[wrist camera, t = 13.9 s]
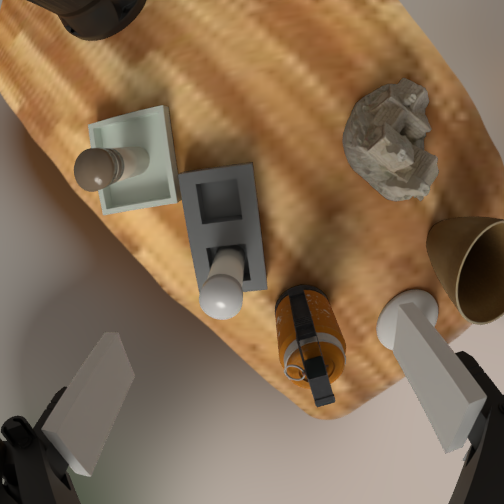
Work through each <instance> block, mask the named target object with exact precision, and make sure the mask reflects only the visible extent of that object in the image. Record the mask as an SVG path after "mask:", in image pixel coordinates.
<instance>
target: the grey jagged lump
mask: <svg viewBox="0 0 504 504" xmlns="http://www.w3.org/2000/svg"><path fill="white" fill-rule="evenodd" d="M427 93H428V92H427V90H426V89H425V88H423V87H422V86H421V85H417V84H416V83H414V82H413V81H410V80H408V79H406V78H402V79H401V81H400V82H399V83H398V84H397V85H396V84H386V85H384V86H381V87H380V88H378V89H377V90H375V91H373V92H372V93H370V94H368V95H366V96H364V97H363V98H362V99H361V100H359V101H358V102H357V103H356V104H355V106H354V108H353V110H352V113H351V115H350V117H349V119H348V121H347V123H346V127H345V130H344V133H343V147H344V151H345V155H346V157H347V160H348V162H349V164H350V166H351V167H352V169H353V170H354V171H355V172H357V173H358V174H359V175H360V176H361V177H362V178H364V179H365V180H366V181H367V182H368V183H369V184H370V185H371V186H372V187H373V188H374V189H376V190H377V191H378V192H379V193H380V194H381V195H382V196H384V197H385V198H386V199H388V200H392V201H402V200H407V199H410V198H411V197H412V196H414V198H416V197H417V198H418V199H419V200H420V201H422V200H423V197H424V196H427V195H428V193H429V191H430V186H431V184H432V183H433V182H434V180H435V178H436V177H437V176H438V173H439V170H438V167H437V163H438V162H437V161H438V158H437V157H436V156H435V155H432V154H430V153H428V152H427V151H424V138H425V137H426V132H430V131H431V126H430V124H429V123H428V119H427V117H426V115H425V108H426V107H427V105H428V103H429V98H428V94H427Z"/></svg>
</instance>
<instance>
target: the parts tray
mask: <svg viewBox="0 0 504 504" xmlns="http://www.w3.org/2000/svg"><path fill="white" fill-rule="evenodd" d="M88 128H89V136H90V143H91V148H119V147H132V146H139V147H142V148H144V149H145V150H146V151H147V153H148V154H149V158H150V162H149V166H148V168H147V170H146V171H145V172H144V173H142V174H140V175H137V176H134V177H131V178H128V179H125V180H122V181H119V182H116V183H114V184H111V185H109V186H108V187H106V188H103V189H101V190H98V192H99V197H100V202H101V207H102V212H103V215H108V214H113V213H119V212H125V211H130V210H136V209H142V208H148V207H155V206H161V205H167V204H174V203H178V202H179V201H180V200H182V197H181V191H180V185H179V179H178V171H177V164H176V158H175V151H174V144H173V137H172V129H171V122H170V114H169V107H167V106H164V105H161V106H156V107H152V108H148V109H143V110H139V111H135V112H131V113H128V114H124V115H120V116H116V117H113V118H109V119H106V120H102V121H99V122H96V123H92V124H89V125H88Z"/></svg>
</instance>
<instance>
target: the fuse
mask: <svg viewBox="0 0 504 504" xmlns="http://www.w3.org/2000/svg"><path fill="white" fill-rule="evenodd" d="M244 263H245V254H244V251H243V250H242V248H241V247H240V246H238V245H228V246H221V247H219V249H218V250H217V252H216V255H215V258H214V261H213V264H212V266H211V269H210V272H209V275H208V278H207V280H206V281H205V283H204V284H203V287H202V290H201V292H200V296H199V303H200V306H201V308H202V310H203V311H204V312H205V313H206V314H207V315H209V316H210V317H212V318H215V319H221V320H223V319H229V318H232V317H233V316H235V315H236V314H237V313H238V312H239V311H240V309H241V307H242V301H243V289H242V283H243V273H244Z"/></svg>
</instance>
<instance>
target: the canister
mask: <svg viewBox="0 0 504 504" xmlns="http://www.w3.org/2000/svg"><path fill="white" fill-rule="evenodd" d="M275 317H276V328H277V339H278V349H279V360H280V363H281V365H282V367H283V368H284V373H285V375H286V376H287V377H288V378H289V379H290V380H291V381H292V382H293V383H294V384H296V385H297V386H300V387H302V388H307V389H311V391H312V394H313V397H314V400H315V405H316V406H317V407H320V406H324V405H327V404H331V403H334V402H335V397H334V394H333V392H332V389H331V385H330V384H331V383H333V382H334V381H335V380H336V379H337V378H338V377H339V376H340V375H341V374H342V372H343V370H344V367H345V364H346V356H345V353H346V343H345V340H344V338H343V335H342V333H341V330H340V328H339V325H338V323H337V320H336V318H335V315H334V313H333V311H332V308H331V306H330V303H329V301H328V299H327V297H326V295H325V294H324V293H323V292H322V291H321V290H320V289H318V288H316V287H313V286H309V285H299V286H295V287H293V288H290V289H288V290H287V291H285V292H284V293H283V294H282V295H281V296H280V298H279V299H278V301H277V303H276V306H275Z"/></svg>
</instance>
